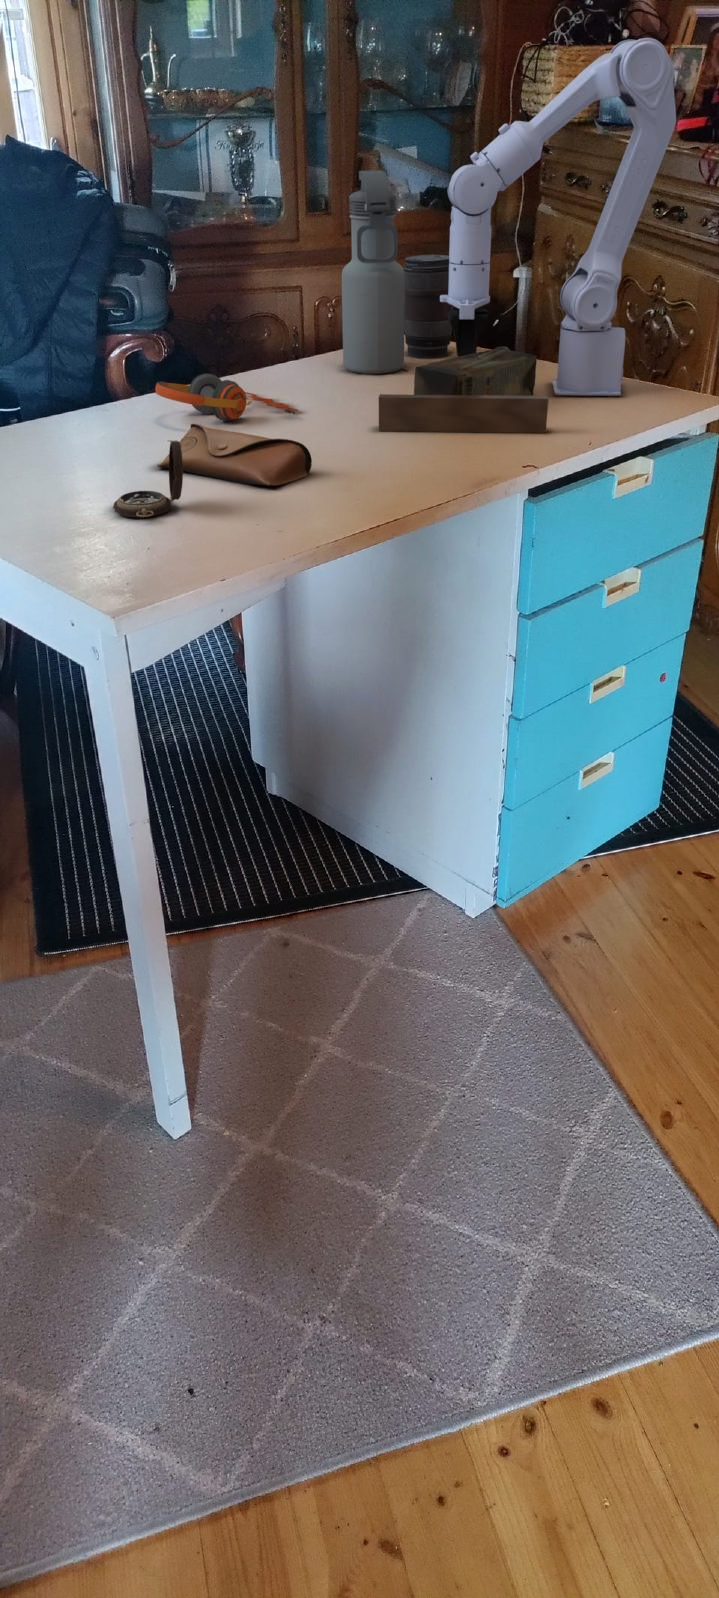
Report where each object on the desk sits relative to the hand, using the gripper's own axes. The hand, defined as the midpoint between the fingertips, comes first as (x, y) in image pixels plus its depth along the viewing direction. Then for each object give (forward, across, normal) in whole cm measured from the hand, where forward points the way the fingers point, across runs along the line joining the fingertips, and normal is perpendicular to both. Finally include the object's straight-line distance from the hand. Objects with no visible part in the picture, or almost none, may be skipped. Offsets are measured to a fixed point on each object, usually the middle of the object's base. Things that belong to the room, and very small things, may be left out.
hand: (466, 363), depth 173 cm
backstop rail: (+4, +21, 0) cm, 22 cm away
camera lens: (+4, -29, -7) cm, 30 cm away
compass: (+4, +58, -33) cm, 66 cm away
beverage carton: (+4, +7, +2) cm, 8 cm away
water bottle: (+4, -17, -15) cm, 23 cm away
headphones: (+4, +14, -33) cm, 36 cm away
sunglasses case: (+4, +42, -27) cm, 50 cm away
